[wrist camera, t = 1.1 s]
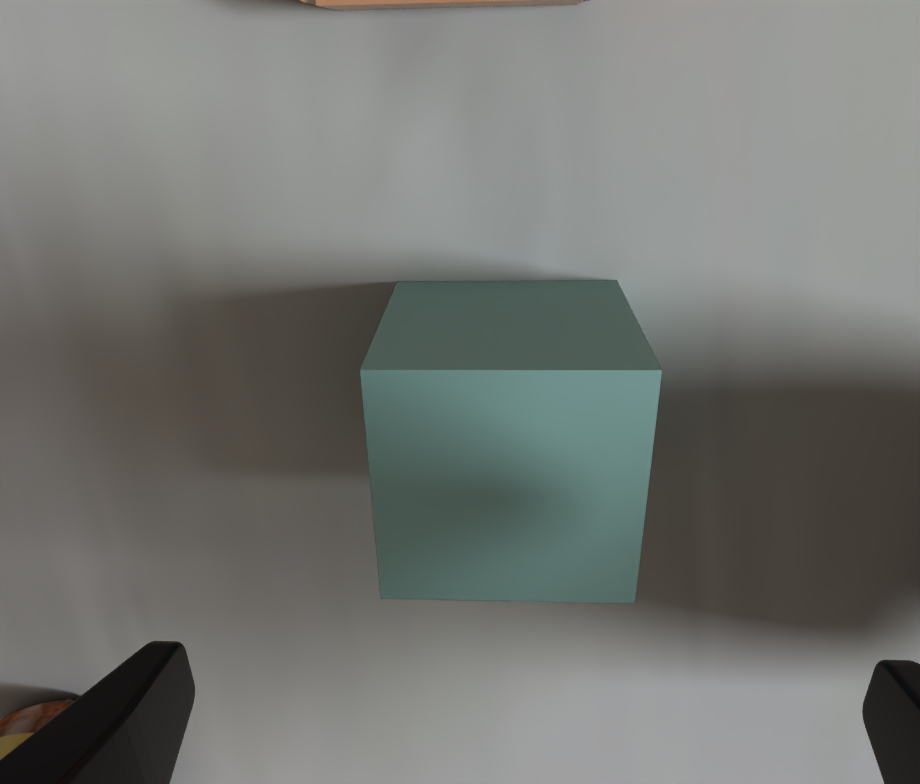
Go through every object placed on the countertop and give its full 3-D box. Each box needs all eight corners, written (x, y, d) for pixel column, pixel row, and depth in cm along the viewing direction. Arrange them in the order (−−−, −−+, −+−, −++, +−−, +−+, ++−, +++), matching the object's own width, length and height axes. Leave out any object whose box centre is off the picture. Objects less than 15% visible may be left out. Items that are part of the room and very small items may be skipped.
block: (616, 279, 16) (662, 370, 12) (601, 466, 18) (634, 603, 14) (397, 280, 16) (359, 369, 12) (409, 464, 19) (381, 598, 14)
